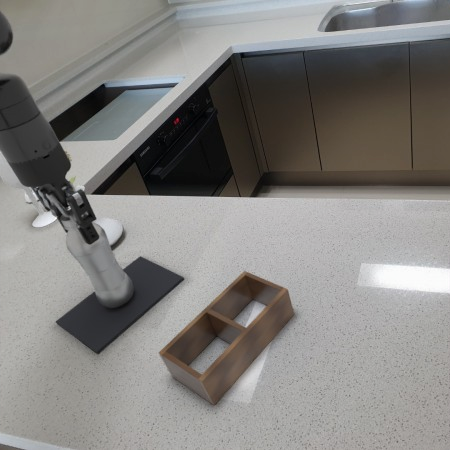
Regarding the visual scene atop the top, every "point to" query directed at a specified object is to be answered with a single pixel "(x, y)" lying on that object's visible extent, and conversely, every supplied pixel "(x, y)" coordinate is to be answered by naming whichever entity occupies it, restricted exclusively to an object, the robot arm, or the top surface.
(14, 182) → the champagne flute
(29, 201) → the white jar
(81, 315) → the mat
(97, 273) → the plastic bottle
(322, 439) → the top surface
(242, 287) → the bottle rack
